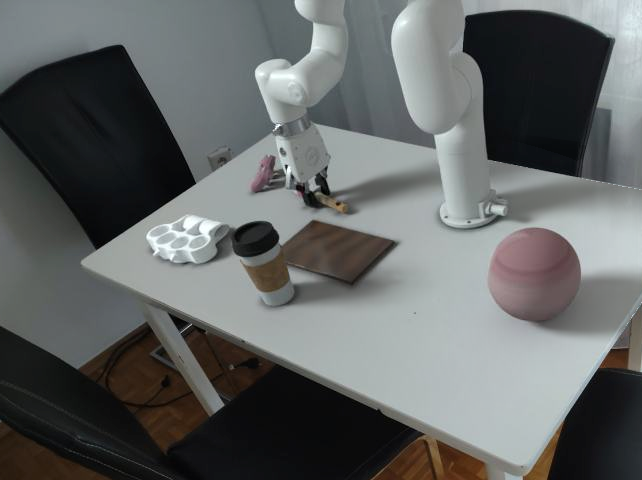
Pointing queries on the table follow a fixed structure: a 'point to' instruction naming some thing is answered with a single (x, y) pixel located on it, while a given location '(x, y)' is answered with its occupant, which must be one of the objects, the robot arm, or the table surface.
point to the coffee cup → (263, 261)
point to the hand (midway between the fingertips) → (318, 199)
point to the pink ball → (534, 274)
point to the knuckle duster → (187, 239)
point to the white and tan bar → (324, 198)
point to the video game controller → (264, 173)
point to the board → (334, 251)
